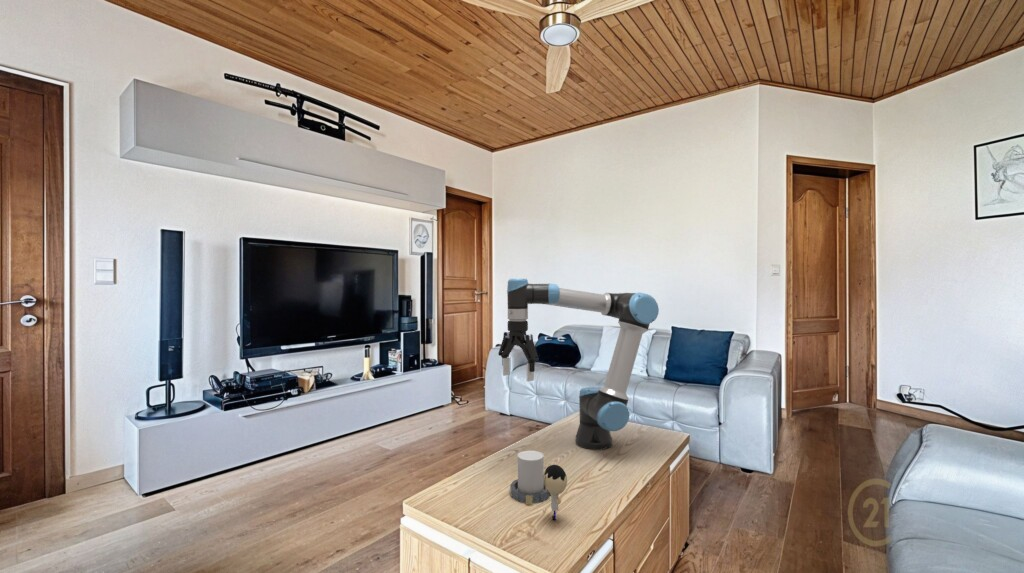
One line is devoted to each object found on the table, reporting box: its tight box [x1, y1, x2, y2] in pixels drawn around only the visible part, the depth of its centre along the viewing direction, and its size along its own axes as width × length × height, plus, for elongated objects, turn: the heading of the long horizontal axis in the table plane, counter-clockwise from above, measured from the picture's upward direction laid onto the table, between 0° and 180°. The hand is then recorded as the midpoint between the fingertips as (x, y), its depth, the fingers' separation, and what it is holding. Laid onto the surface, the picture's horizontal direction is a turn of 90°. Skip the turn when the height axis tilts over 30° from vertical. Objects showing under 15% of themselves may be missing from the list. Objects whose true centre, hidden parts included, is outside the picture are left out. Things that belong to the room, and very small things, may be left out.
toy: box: [543, 464, 568, 521], centre depth 122 cm, size 9×7×15 cm
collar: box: [509, 478, 551, 506], centre depth 137 cm, size 12×12×2 cm
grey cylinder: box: [517, 450, 545, 494], centre depth 137 cm, size 8×8×12 cm
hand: (517, 377), depth 160 cm, fingers open, 13 cm apart
